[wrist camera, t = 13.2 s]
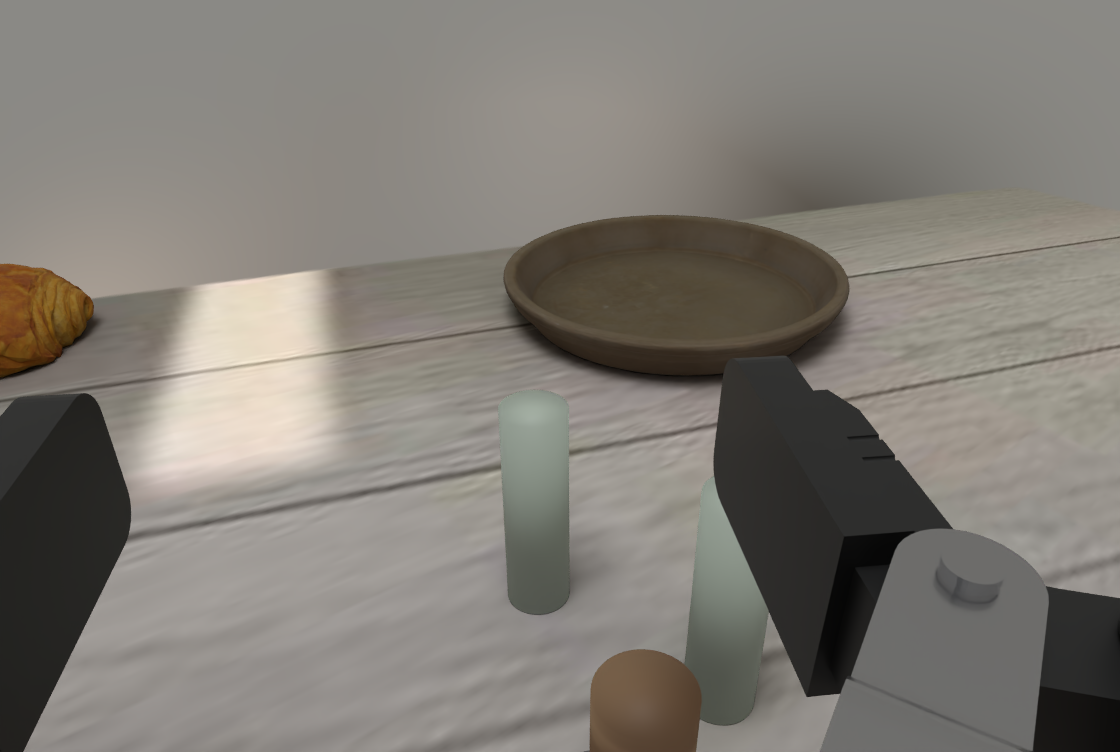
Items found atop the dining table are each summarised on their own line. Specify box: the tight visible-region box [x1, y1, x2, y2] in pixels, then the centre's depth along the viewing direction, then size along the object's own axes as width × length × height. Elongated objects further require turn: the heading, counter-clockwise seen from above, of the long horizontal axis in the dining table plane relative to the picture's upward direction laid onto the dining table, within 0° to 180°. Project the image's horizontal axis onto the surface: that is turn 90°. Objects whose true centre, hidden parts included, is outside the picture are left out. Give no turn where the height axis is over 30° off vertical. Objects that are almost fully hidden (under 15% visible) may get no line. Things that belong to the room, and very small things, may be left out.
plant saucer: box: [504, 215, 849, 375], centre depth 77 cm, size 31×31×5 cm
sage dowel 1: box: [498, 390, 569, 615], centre depth 43 cm, size 3×3×12 cm
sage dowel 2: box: [685, 476, 769, 725], centre depth 37 cm, size 3×3×12 cm
